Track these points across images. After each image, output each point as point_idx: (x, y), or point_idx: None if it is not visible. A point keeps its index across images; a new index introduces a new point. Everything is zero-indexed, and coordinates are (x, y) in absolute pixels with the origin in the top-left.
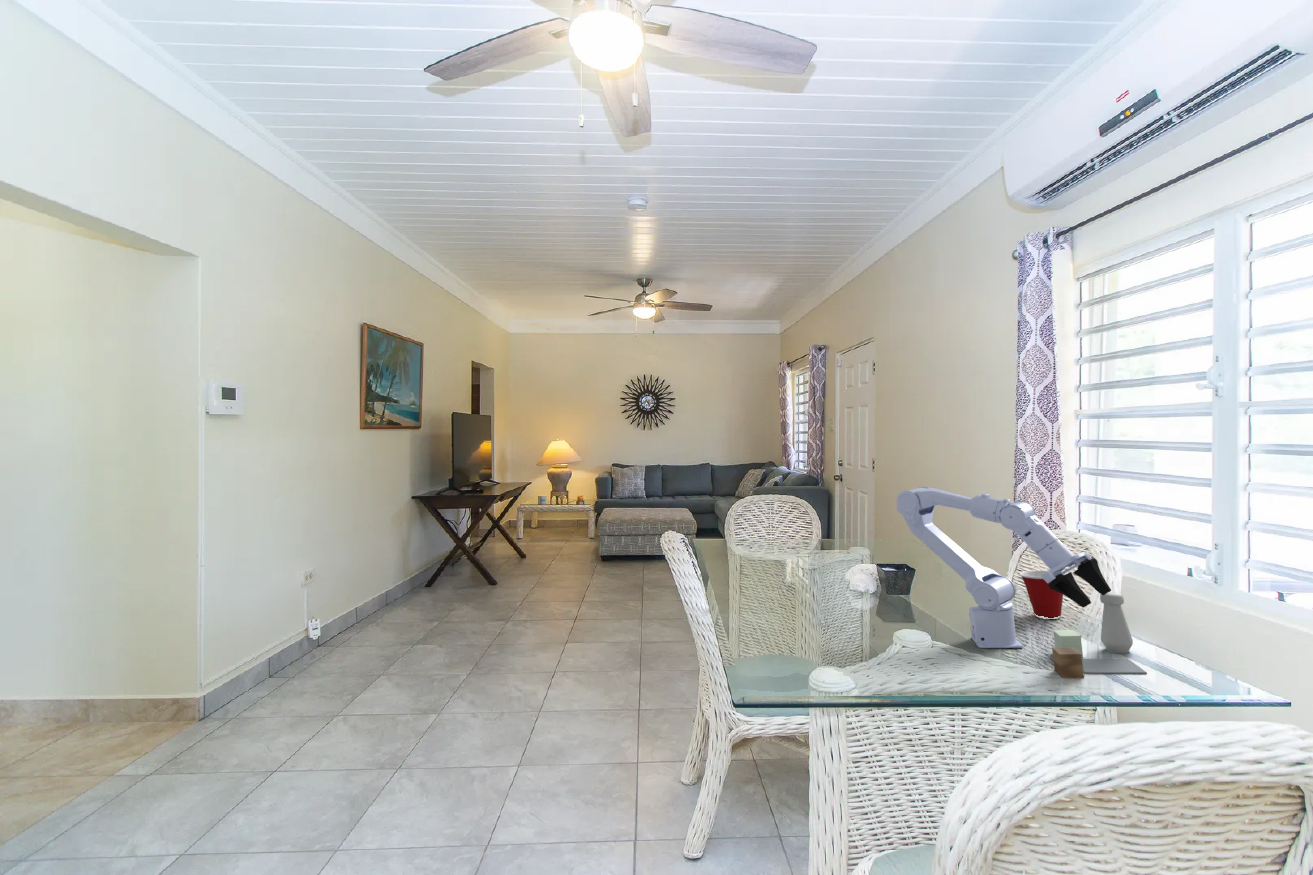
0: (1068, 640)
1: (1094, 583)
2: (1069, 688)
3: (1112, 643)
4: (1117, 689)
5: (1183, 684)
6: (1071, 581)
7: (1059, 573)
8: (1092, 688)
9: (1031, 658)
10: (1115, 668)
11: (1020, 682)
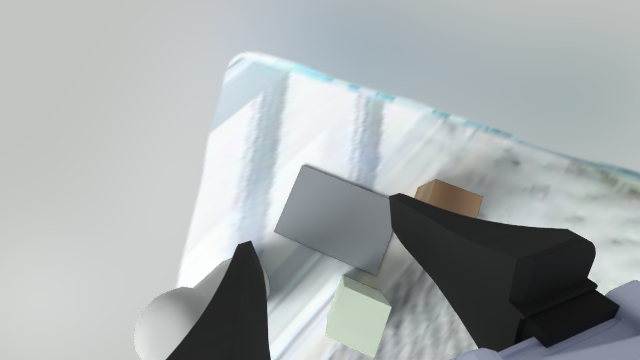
0: (371, 295)
1: (260, 314)
2: (476, 157)
3: (265, 273)
4: (402, 128)
5: (289, 112)
6: (506, 229)
7: (542, 356)
8: (438, 145)
9: (444, 317)
10: (336, 198)
11: (548, 211)
